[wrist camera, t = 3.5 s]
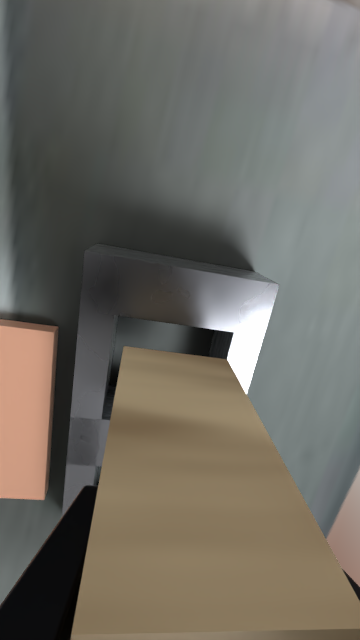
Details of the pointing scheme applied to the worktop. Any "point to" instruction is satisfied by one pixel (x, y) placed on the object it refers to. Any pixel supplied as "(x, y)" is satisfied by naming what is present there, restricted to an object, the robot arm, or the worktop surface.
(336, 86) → the worktop surface
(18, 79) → the worktop surface
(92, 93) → the worktop surface
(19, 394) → the terracotta tile
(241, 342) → the grey slotted holder
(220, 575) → the maple peg
